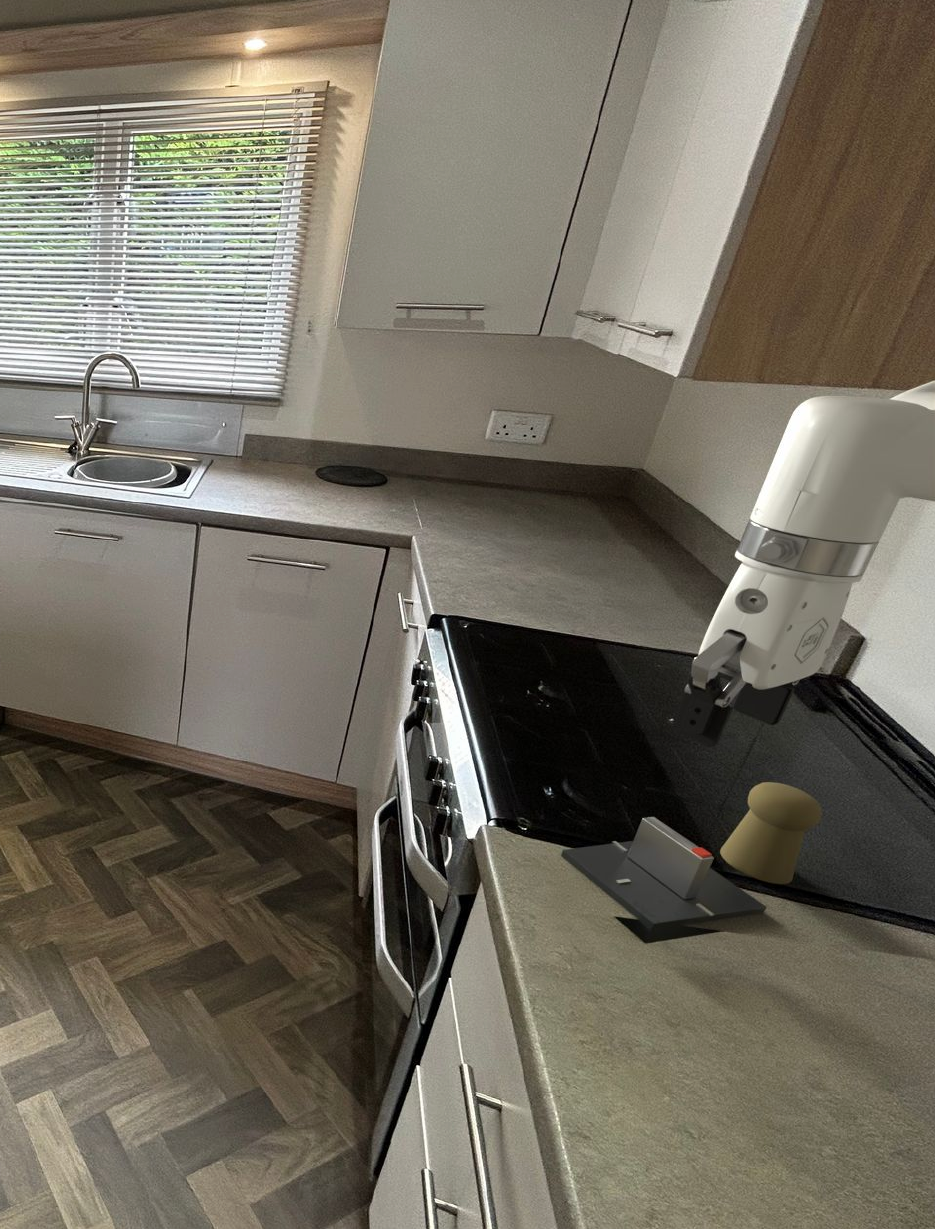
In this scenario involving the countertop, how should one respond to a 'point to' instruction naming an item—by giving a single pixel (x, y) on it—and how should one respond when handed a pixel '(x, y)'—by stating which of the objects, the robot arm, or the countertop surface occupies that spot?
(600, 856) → the plate
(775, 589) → the robot arm
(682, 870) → the tap handle
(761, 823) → the cork
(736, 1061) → the countertop surface
